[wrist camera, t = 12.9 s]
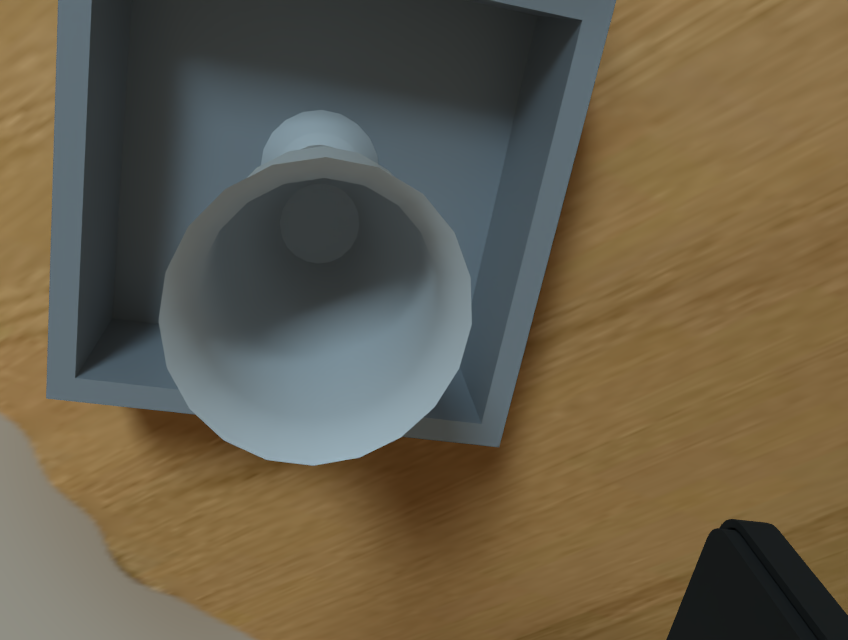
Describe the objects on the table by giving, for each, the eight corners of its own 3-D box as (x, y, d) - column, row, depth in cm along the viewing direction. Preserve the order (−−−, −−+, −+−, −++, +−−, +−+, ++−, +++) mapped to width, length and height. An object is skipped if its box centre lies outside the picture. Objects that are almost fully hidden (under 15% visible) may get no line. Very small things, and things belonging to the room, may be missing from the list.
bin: (559, -6, 34) (617, -5, 27) (469, 374, 40) (499, 447, 34) (115, -104, 30) (62, -130, 24) (93, 327, 37) (46, 398, 30)
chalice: (271, 56, 32) (217, 105, 16) (424, 118, 34) (524, 222, 17) (217, 221, 34) (119, 418, 18) (364, 272, 36) (401, 497, 19)
